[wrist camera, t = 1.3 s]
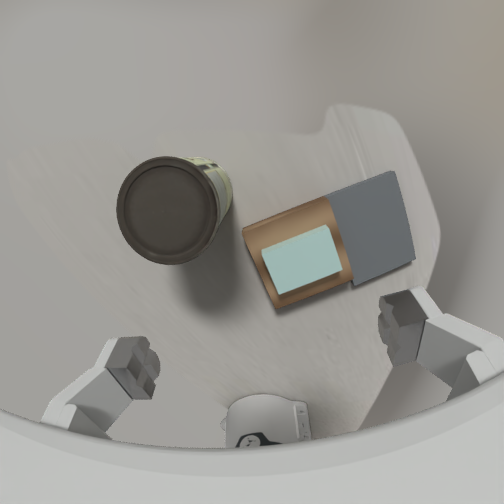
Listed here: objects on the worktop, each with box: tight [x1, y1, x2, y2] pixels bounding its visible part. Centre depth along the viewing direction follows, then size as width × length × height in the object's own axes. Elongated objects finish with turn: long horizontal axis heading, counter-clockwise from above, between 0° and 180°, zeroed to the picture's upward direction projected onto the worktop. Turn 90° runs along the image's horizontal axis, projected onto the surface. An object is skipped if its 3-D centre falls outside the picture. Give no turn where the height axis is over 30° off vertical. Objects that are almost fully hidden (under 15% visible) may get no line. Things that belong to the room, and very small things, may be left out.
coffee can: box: [116, 156, 232, 265], centre depth 32 cm, size 10×10×14 cm
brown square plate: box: [242, 196, 354, 309], centre depth 40 cm, size 12×12×3 cm
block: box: [261, 225, 343, 294], centre depth 37 cm, size 6×9×2 cm, turn 113°
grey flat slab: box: [324, 171, 416, 286], centre depth 39 cm, size 14×11×2 cm
